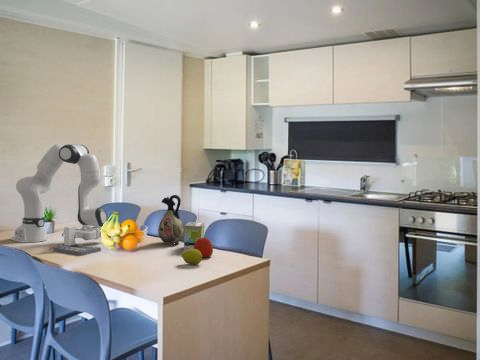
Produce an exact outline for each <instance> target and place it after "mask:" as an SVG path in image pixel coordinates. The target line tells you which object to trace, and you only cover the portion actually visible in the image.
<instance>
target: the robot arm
mask: <svg viewBox="0 0 480 360" xmlns="http://www.w3.org/2000/svg"><path fill="white" fill-rule="evenodd" d="M63 163H68V164H74V165H76V164H77V165H78V167H79V172H80V183H79V185H78V190H77V193H78V195H77V198H78V199H77V201H78V206H77V209H78V210H77V221H78V222H79V224H80V225H82V226H81V228H75V235H74V238H75V239H82V240H84V241H88V240H89V241H90V240H91V241H92V240H99V238H102V237H101V232H100V230H101V227H102V226H103V224H104V223H105V222H106V221H108V214H107V212H106V209H104V208H103V207H100V206H99V207H92V208H90V205H89V203H90V202H89V201H90V199H89V195H90V192H91V191H92V190H93V189H95V188H96V187H97V186H98V185H100V183H101V177H102V176H101V171H100V165H99V161H98V159H97V156H96V155H95V154H92V153H90V151H89V149H88V147H87V146H86V145H83V144H78V143H73V144H65V145H63V144H60V143H59V144H58V143H56V144H53V146H51V147H50V148H49V149H48V150H47V152H46V153H45V154H44V155H43V157H42V158H41V159H40V160H39V162H38V164H37V165H36V169H37V170H36V172H35V175H32V176H25V177H22V178H20V179H18V180H17V182H16V184H15V189H16V191H17V192H18V193H19V194H20V196H21V198H22V201H23V206H24V207H23V210H24V215H23V217H22V218H21V221H22V223H21V224H20V225H19V226H18V227H17V228H16V229H15V230H14V236H11V237H10V238H9V240H11V241H14V242H19V243H38V242H44V241H47V240H48V238H49V236H48V235H47V226H46V216H45V204H44V202H43V201H42V199H41V196H40V195H41V194H44V193H47V192H48V191H50V190H51V188H52V186H53V185H52V181H53V178H54V176H55V175H56V174H57V172H58V170H59V169H60V167H61V166H62V165H63ZM61 237H64V232H62V233H61Z"/></svg>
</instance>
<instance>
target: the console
mask: <svg viewBox="0 0 480 360" xmlns="http://www.w3.org/2000/svg"><path fill="white" fill-rule="evenodd" d="M75 244H76V245H77V246H73V247H67V246H62V245H58V246H54V247H53V249H52V250H53V252H57V253H62V254H63V253H64V254H68V255H76V256H80V257H81V256H85V255H89V254H94V253H98V252H101V251H102V247H99V246H96V245H93V246H92V245H87V244H81V243H80V244H79V243H75Z"/></svg>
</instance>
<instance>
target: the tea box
mask: <svg viewBox="0 0 480 360" xmlns="http://www.w3.org/2000/svg"><path fill="white" fill-rule="evenodd" d="M183 237H184V238H183V239H184V241H183V252H184V251H186V250H188V249H194V245H195V243H196V241H197V240H198V239H199V238H205V222H195V221H194V222H191V221H188V222H187V223H186V224H185V225H184V234H183Z"/></svg>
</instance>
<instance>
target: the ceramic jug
mask: <svg viewBox="0 0 480 360" xmlns="http://www.w3.org/2000/svg"><path fill="white" fill-rule="evenodd" d="M174 199H176V200H177V205H176V202H175V201H174ZM181 202H182V201H181V197H180V196H179V195H177V194H173V195H170V197H169V196H167V197H164V198H163V199H162V200H161V203H162V204H164V205H166V206H167V210H166V211H165V213H164V214H163V217H162V218H161V220H160V222H159V225H158V230H157V233H158V237H159V238H160V240H161V241H162V242H164V243H166V244H165V245H167V244H173V245H175V244H174V243H179V244H180V240H181V239H182V238H183V237H184V233H185V227H184V225H183V221H182V220H181V218H180V214H179V210H180V207H181ZM174 206H176V209H175V208H174Z"/></svg>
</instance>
